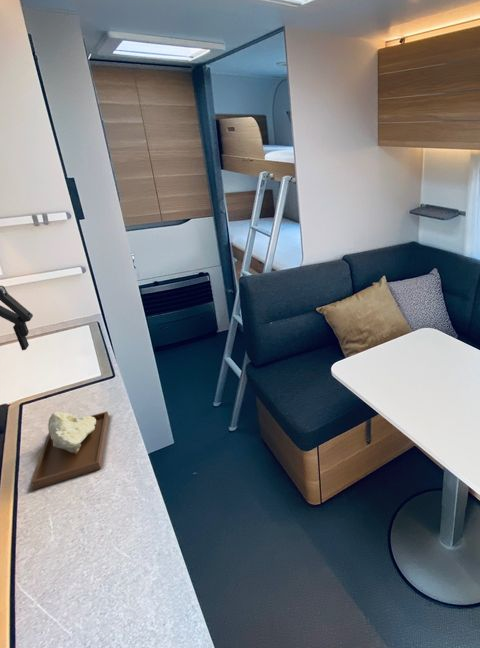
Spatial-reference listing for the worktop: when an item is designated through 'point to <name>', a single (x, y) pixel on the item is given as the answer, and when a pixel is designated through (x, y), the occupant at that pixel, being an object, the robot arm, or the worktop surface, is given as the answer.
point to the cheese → (69, 430)
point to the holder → (72, 456)
